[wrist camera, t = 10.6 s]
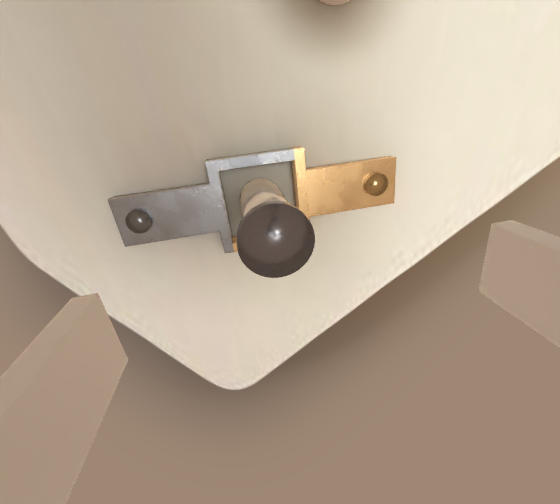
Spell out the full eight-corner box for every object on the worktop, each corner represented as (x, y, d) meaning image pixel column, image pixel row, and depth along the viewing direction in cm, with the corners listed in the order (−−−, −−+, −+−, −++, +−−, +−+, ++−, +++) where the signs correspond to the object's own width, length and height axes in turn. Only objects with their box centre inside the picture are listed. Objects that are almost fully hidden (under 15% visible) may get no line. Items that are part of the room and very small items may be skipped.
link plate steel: (104, 173, 29) (95, 177, 27) (290, 147, 30) (293, 149, 29) (135, 261, 33) (129, 269, 31) (298, 234, 34) (302, 240, 32)
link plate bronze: (216, 158, 30) (215, 160, 28) (391, 133, 31) (401, 134, 29) (234, 245, 34) (234, 251, 32) (388, 219, 35) (396, 224, 33)
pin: (231, 177, 31) (229, 211, 19) (282, 169, 31) (311, 198, 19) (240, 226, 33) (244, 283, 21) (287, 218, 33) (317, 270, 22)
